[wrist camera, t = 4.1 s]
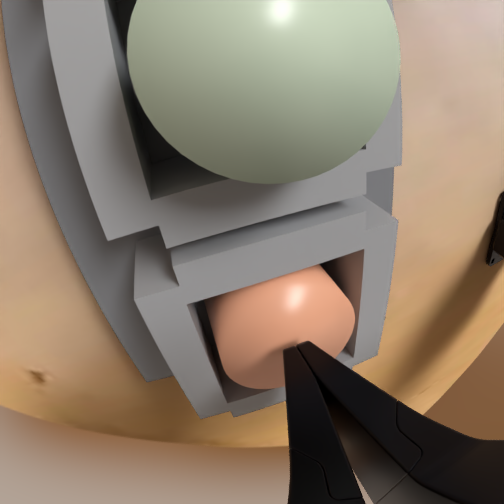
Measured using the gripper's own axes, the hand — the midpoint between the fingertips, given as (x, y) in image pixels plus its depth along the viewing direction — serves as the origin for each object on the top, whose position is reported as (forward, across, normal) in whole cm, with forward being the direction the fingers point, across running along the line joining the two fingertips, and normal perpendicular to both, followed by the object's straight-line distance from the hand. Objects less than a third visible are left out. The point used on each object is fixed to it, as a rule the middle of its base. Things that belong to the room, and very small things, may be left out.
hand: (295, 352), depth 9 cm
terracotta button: (+3, 0, 0) cm, 3 cm away
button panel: (+6, 0, -8) cm, 10 cm away
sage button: (+2, 0, -8) cm, 8 cm away
